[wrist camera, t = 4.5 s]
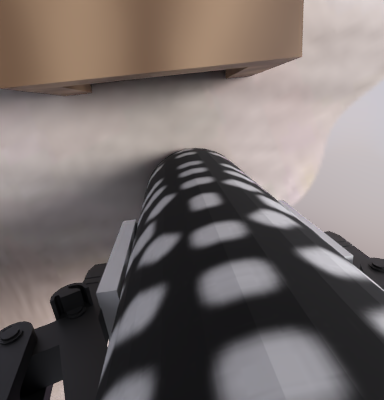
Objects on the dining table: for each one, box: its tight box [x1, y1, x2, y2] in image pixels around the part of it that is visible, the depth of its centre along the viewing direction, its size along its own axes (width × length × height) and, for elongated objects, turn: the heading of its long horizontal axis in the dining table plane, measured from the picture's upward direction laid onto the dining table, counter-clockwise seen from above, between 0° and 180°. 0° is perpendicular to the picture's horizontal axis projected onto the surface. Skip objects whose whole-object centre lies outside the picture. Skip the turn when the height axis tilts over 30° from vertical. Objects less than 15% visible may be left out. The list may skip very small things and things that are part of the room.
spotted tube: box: [95, 148, 384, 400], centre depth 13 cm, size 8×8×20 cm
